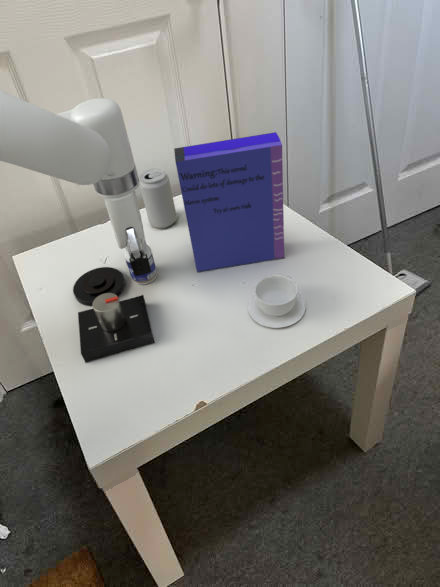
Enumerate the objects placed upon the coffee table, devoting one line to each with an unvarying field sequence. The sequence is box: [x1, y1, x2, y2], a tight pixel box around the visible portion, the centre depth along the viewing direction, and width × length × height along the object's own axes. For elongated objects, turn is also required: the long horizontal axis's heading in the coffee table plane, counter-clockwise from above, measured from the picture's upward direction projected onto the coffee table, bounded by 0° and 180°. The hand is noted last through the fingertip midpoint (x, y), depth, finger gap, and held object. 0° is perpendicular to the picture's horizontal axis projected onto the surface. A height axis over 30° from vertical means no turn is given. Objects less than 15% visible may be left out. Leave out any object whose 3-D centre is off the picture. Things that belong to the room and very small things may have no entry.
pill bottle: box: [123, 238, 158, 286], centre depth 88 cm, size 5×5×9 cm
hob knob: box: [91, 293, 126, 332], centre depth 77 cm, size 4×4×5 cm
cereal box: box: [173, 131, 285, 273], centre depth 84 cm, size 17×5×24 cm, turn 97°
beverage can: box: [139, 168, 178, 229], centre depth 100 cm, size 6×6×12 cm
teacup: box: [247, 274, 307, 329], centre depth 79 cm, size 10×10×5 cm
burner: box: [72, 266, 126, 307], centre depth 89 cm, size 10×10×2 cm
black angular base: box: [77, 294, 156, 363], centre depth 80 cm, size 12×10×3 cm
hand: (139, 258), depth 88 cm, fingers open, 8 cm apart
